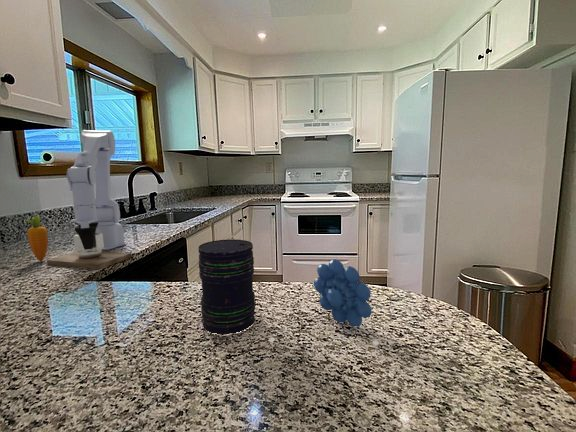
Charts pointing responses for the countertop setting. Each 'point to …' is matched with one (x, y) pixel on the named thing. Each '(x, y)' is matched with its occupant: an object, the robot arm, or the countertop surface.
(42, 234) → the carrot
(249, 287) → the dark blue cylinder
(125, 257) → the lock board
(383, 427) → the countertop surface
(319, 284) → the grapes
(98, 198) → the robot arm
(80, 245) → the cap
